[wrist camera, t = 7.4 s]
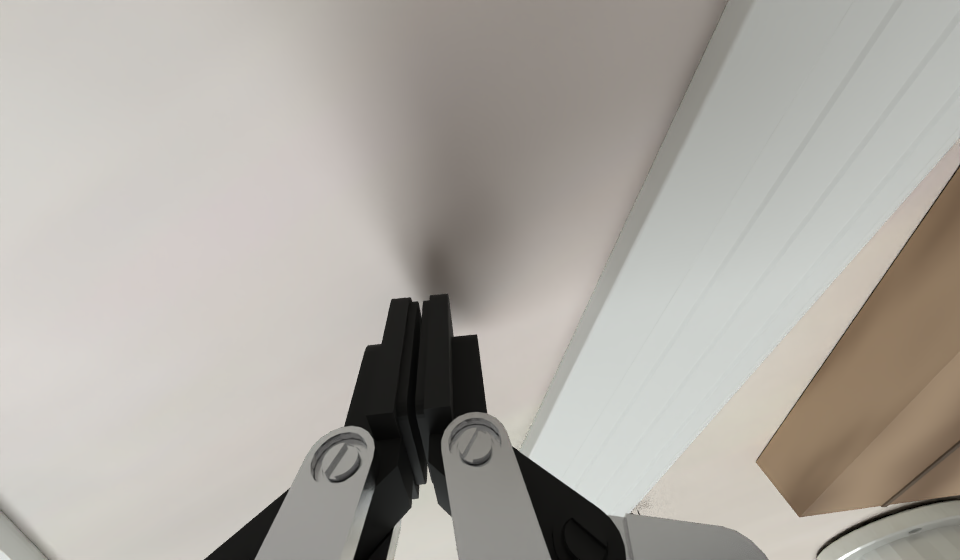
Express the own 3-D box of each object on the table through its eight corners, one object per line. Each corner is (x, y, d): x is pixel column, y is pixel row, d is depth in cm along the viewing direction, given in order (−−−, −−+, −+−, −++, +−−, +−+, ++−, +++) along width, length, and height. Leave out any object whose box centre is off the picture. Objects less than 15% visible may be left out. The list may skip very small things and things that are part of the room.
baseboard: (1321, -274, 7) (966, -580, 5) (1797, -457, 4) (1465, -1194, 2) (639, 501, 22) (489, 500, 20) (663, 555, 20) (495, 559, 18)
